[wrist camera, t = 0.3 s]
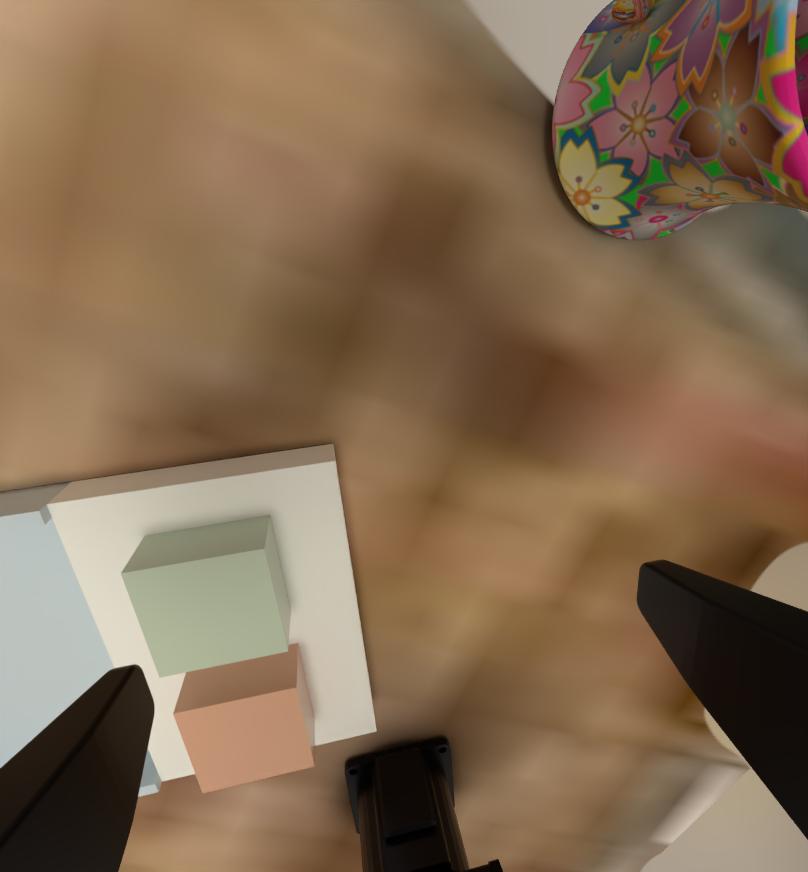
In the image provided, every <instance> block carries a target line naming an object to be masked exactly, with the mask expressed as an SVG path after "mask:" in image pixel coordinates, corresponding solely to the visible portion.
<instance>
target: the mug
mask: <svg viewBox="0 0 808 872" xmlns="http://www.w3.org/2000/svg"><path fill="white" fill-rule="evenodd" d="M552 141H553V152H554V158H555V164H556V167H557V171H558V175H559V178H560V180H561V183H562V186H563V188H564V190H565V192H566V194H567V196H568V198H569V199H570V201H571V203H572V204H573V205H574V207H575V208H576V210H577V211H578V212H579V213H580V214H581V215H582V216H583V217H584V218H585V219H586V220H587V221H588V222H589V223H590V224H592V225H593V226H595V227H596V228H598V229H599V230H601V231H603V232H605V233H607V234H610V235H613V236H615V237H618V238H623V239H629V240H647V239H654V238H658V237H662V236H665V235H668V234H670V233H673V232H675V231H677V230H679V229H681V228H683V227H685V226H686V225H688V224H689V223H691V222H693V221H694V220H695V219H697V218H698V217H699V216H701V215H702V214H703V213H704V212H705V211H706V210H709V209H712V208H715V207H718V206H722V205H727V204H734V203H769V204H776V205H783V206H787V207H792V208H796V209H800V210H803V211H806V212H808V0H614V1H612V2H611V3H610V4H609V5H607V6H606V7H605V8H604V9H603V10H602V11H601V12H600V13H599V14H598V15H597V16H596V17H595V19H594V20H593V21H592V22H591V23H590V25H589V26H588V27H587V29H586V30H585V32H584V33H583V34H582V36H581V37H580V39H579V41H578V42H577V44H576V46H575V48H574V49H573V51H572V53H571V55H570V57H569V59H568V61H567V64H566V66H565V68H564V71H563V74H562V76H561V80H560V83H559V86H558V90H557V95H556V99H555V104H554V111H553V122H552Z"/></svg>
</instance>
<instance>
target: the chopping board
mask: <svg viewBox="0 0 808 872" xmlns="http://www.w3.org/2000/svg"><path fill="white" fill-rule="evenodd" d="M46 505H47V507H48V510H49V512H50V514H51V517H52V519H53V522H54V524H55V526H56V529H57V531H58V534H59V536H60V538H61V541H62V543H63V546H64V548H65V550H66V553H67V555H68V558H69V560H70V563H71V565H72V567H73V570H74V572H75V575H76V577H77V579H78V582H79V584H80V587H81V589H82V591H83V594H84V596H85V599H86V601H87V603H88V606H89V608H90V611H91V613H92V615H93V618H94V620H95V623H96V625H97V627H98V630H99V632H100V635H101V637H102V639H103V642H104V644H105V647H106V649H107V651H108V654H109V656H110V659H111V661H112V663H113V666H114V668H117V667H122V666H127V665H132V664H136V665H139V666H140V667H141V668H142V670H143V672H144V675H145V678H146V680H147V683H148V686H149V689H150V691H151V694H152V697H153V700H154V706H155V712H154V719H153V724H152V729H151V734H150V739H149V744H148V750H149V752H150V755H151V757H152V760H153V762H154V764H155V767H156V769H157V772H158V774H159V776H160V779H161V781H167V780H171V779H175V778H179V777H184V776H188V775H192V774H195V771H194V769H193V766H192V763H191V761H190V758H189V755H188V753H187V750H186V747H185V745H184V742H183V739H182V737H181V734H180V731H179V728H178V726H177V723H176V720H175V718H174V715H173V712H174V709H175V706H176V703H177V700H178V697H179V693H180V690H181V687H182V684H183V681H184V678H185V674H186V672H185V673H180V674H175V675H170V676H165V677H161V678H159V675H158V672H157V669H156V667H155V664H154V661H153V659H152V656H151V653H150V651H149V648H148V645H147V643H146V640H145V637H144V635H143V632H142V629H141V627H140V624H139V621H138V619H137V616H136V613H135V610H134V608H133V605H132V602H131V600H130V597H129V594H128V592H127V589H126V586H125V584H124V581H123V578H122V576H121V572H122V571H123V569H124V567H125V566H126V564H127V563H128V561H129V560H130V558H131V556H132V555H133V553H134V552H135V550H136V548H137V547H138V545H139V544H140V542H141V541H142V539H143V537H144V536H145V535H151V534H157V533H163V532H169V531H176V530H182V529H188V528H194V527H200V526H206V525H212V524H218V523H224V522H231V521H237V520H243V519H249V518H255V517H261V516H267V515H270V516H271V520H272V525H273V529H274V534H275V539H276V543H277V548H278V552H279V557H280V561H281V566H282V571H283V575H284V580H285V584H286V589H287V593H288V598H289V602H290V607H291V617H290V632H289V645H291V644H296V643H299V648H300V653H301V657H302V662H303V666H304V671H305V675H306V680H307V685H308V689H309V694H310V698H311V703H312V707H313V712H314V716H315V746H317V745H321V744H325V743H330V742H334V741H338V740H342V739H347V738H351V737H355V736H360V735H364V734H368V733H372V732H377V730H376V722H375V715H374V707H373V700H372V693H371V687H370V680H369V674H368V667H367V661H366V654H365V647H364V641H363V634H362V628H361V621H360V615H359V608H358V602H357V595H356V589H355V582H354V576H353V569H352V562H351V556H350V549H349V543H348V536H347V530H346V523H345V517H344V510H343V504H342V497H341V491H340V484H339V477H338V471H337V464H336V458H335V451H334V445H333V444H328V445H321V446H314V447H307V448H300V449H294V450H287V451H280V452H273V453H266V454H259V455H252V456H245V457H239V458H232V459H225V460H218V461H211V462H204V463H197V464H191V465H184V466H177V467H170V468H163V469H156V470H149V471H142V472H136V473H129V474H122V475H115V476H108V477H101V478H94V479H88V480H81V481H74V482H71V483H70V484H69V485H68V486H67V487H65V488H64V489H63V490H62V491H61V492H60V493H59V494H58V495H56V496H55V497H54V498H53V499H52V500H51V501H50V502H49V503H47V504H46Z"/></svg>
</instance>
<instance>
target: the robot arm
mask: <svg viewBox="0 0 808 872" xmlns="http://www.w3.org/2000/svg"><path fill="white" fill-rule="evenodd" d="M637 604H638V607H639V609H640V611H641V613H642V615H643V616H644V618H645V619H646V621H647V623H648V624H649V626H650V627H651V629H652V630H653V632H654V633H655V635H656V636H657V638H658V640H659V641H660V643H661V644H662V646H663V647H664V649H665V650H666V652H667V654H668V655H669V657H670V658H671V660H672V661H673V663H674V664H675V666H676V668H677V669H678V671H679V672H680V674H681V675H682V677H683V678H684V680H685V681H686V683H687V684H688V685H689V687H690V688H691V690H692V691H693V692H694V694H695V695H696V696H697V698H698V699H699V700H700V702H701V703H702V704H703V705H704V707H705V708H706V709H707V711H708V712H709V713H710V714H711V716H712V717H713V718H714V720H715V721H716V722H717V723H718V725H719V726H720V727H721V729H722V730H723V731H724V733H725V734H726V735H727V736H728V738H729V739H730V740H731V741H732V743H733V744H734V745H735V747H736V748H737V749H738V750H739V752H740V753H741V754H742V756H743V757H744V758H745V760H746V761H747V762H748V763H749V765H750V766H751V767H752V769H753V770H754V771H755V772H756V774H757V775H758V776H759V778H760V779H761V780H762V781H763V783H764V784H765V785H766V787H767V788H768V789H769V790H770V792H771V793H772V794H773V796H774V797H775V798H776V799H777V801H778V802H779V803H780V805H781V806H782V807H783V809H784V810H785V811H786V812H787V814H788V815H789V816H790V818H791V819H792V820H793V821H794V823H795V824H796V825H797V827H798V828H799V829H800V830H801V832H802V833H803V834H804V836H805V837H806V838H807V839H808V612H807V611H804V610H802V609H799V608H796V607H793V606H791V605H788V604H785V603H782V602H779V601H776V600H774V599H771V598H769V597H766V596H763V595H760V594H757V593H755V592H752V591H749V590H747V589H744V588H741V587H738V586H736V585H733V584H730V583H727V582H725V581H722V580H719V579H716V578H714V577H711V576H708V575H705V574H703V573H700V572H697V571H694V570H692V569H689V568H686V567H683V566H681V565H678V564H675V563H672V562H670V561H667V560H656V561H651V562H646V563H644V564H642V565H641V567H640V570H639V579H638V590H637ZM154 712H155V706H154V700H153V697H152V694H151V691H150V689H149V686H148V683H147V680H146V678H145V675H144V672H143V670H142V668H141V667H140V666H139V665H136V664H132V665H127V666H122V667H117V668H114V669H111V670H109V671H108V672H107V673H105V674H104V675H103V676H102V677H101V678H100V679H99V680H98V681H96V682H95V683H94V684H93V685H92V686H91V687H90V688H89V689H88V690H86V691H85V692H84V693H83V694H82V695H81V696H80V697H79V698H78V699H76V700H75V701H74V702H73V703H72V704H71V705H70V706H69V707H68V708H67V709H65V710H64V711H63V712H62V713H61V714H60V715H59V716H58V717H57V718H55V719H54V720H53V721H52V722H51V723H50V724H49V725H48V726H47V727H45V728H44V729H43V730H42V731H41V732H40V733H39V734H38V735H37V736H35V737H34V738H33V739H32V740H31V741H30V742H29V743H28V744H27V745H25V746H24V747H23V748H22V749H21V750H20V751H19V752H18V753H17V754H15V755H14V756H13V757H12V758H11V759H10V760H9V761H8V762H7V763H5V764H4V765H3V766H2V767H1V768H0V872H118V870H119V867H120V864H121V860H122V857H123V854H124V850H125V847H126V844H127V840H128V837H129V833H130V829H131V826H132V822H133V818H134V813H135V809H136V804H137V800H138V795H139V790H140V785H141V780H142V774H143V769H144V764H145V759H146V754H147V749H148V744H149V739H150V734H151V729H152V724H153V719H154ZM345 776H346V781H347V786H348V791H349V796H350V801H351V807H352V812H353V817H354V822H355V827H356V832H357V833H358V834H360V842H361V854H362V867H363V872H503V870H502V868H501V865H500V862H499V860H498V859H496V860H492V861H489V862H488V864H487V865H483V866H479V867H476V868H472V869H470V868H469V865H468V861H467V857H466V853H465V849H464V845H463V841H462V837H461V833H460V829H459V826H458V822H457V818H456V814H455V810H454V806H455V804H454V790H453V777H452V763H451V749H450V745H449V742H448V740H447V739H445V738H441V739H436V740H432V741H428V742H424V743H420V744H415V745H411V746H407V747H403V748H399V749H395V750H390V751H386V752H382V753H378V754H374V755H370V756H365V757H361V758H357V759H353V760H350V761H348V762H347V763H346V764H345Z"/></svg>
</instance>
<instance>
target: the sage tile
mask: <svg viewBox="0 0 808 872" xmlns="http://www.w3.org/2000/svg"><path fill="white" fill-rule="evenodd" d="M121 576H122V578H123V581H124V584H125V586H126V589H127V592H128V594H129V597H130V600H131V602H132V605H133V608H134V610H135V613H136V616H137V619H138V621H139V624H140V627H141V629H142V632H143V635H144V637H145V640H146V643H147V645H148V648H149V651H150V653H151V656H152V659H153V661H154V664H155V667H156V669H157V672H158V675H159V678H161V677H165V676H170V675H175V674H180V673H185V672H190V671H195V670H200V669H205V668H210V667H214V666H219V665H224V664H229V663H234V662H239V661H244V660H249V659H254V658H259V657H264V656H268V655H273V654H278V653H283V652H288V646H289V632H290V617H291V607H290V602H289V598H288V593H287V589H286V584H285V580H284V575H283V571H282V566H281V561H280V557H279V552H278V548H277V543H276V539H275V534H274V529H273V525H272V520H271V516H270V515H267V516H261V517H255V518H249V519H243V520H237V521H231V522H224V523H218V524H212V525H206V526H200V527H194V528H188V529H182V530H176V531H169V532H163V533H157V534H151V535H145V536H144V537H143V539H142V541H141V542H140V544H139V545H138V547H137V548H136V550H135V552H134V553H133V555H132V556H131V558H130V560H129V561H128V563H127V564H126V566H125V567H124V569H123V571H122V572H121Z"/></svg>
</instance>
